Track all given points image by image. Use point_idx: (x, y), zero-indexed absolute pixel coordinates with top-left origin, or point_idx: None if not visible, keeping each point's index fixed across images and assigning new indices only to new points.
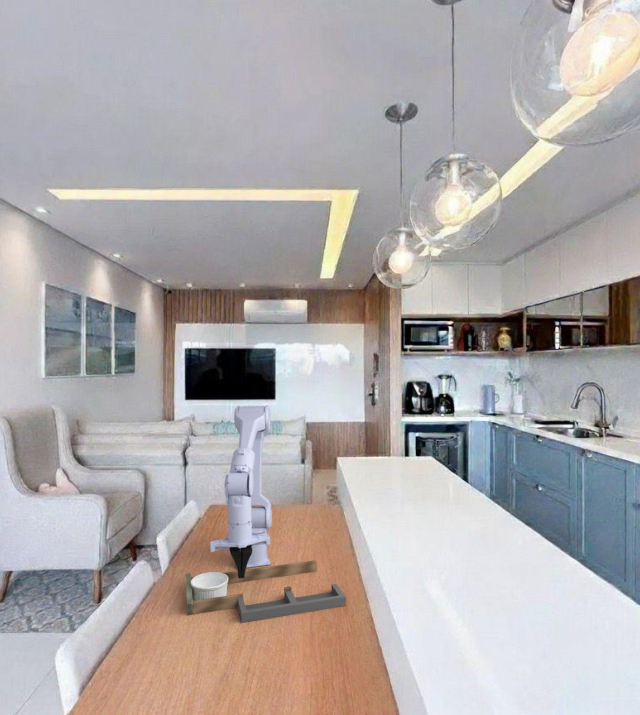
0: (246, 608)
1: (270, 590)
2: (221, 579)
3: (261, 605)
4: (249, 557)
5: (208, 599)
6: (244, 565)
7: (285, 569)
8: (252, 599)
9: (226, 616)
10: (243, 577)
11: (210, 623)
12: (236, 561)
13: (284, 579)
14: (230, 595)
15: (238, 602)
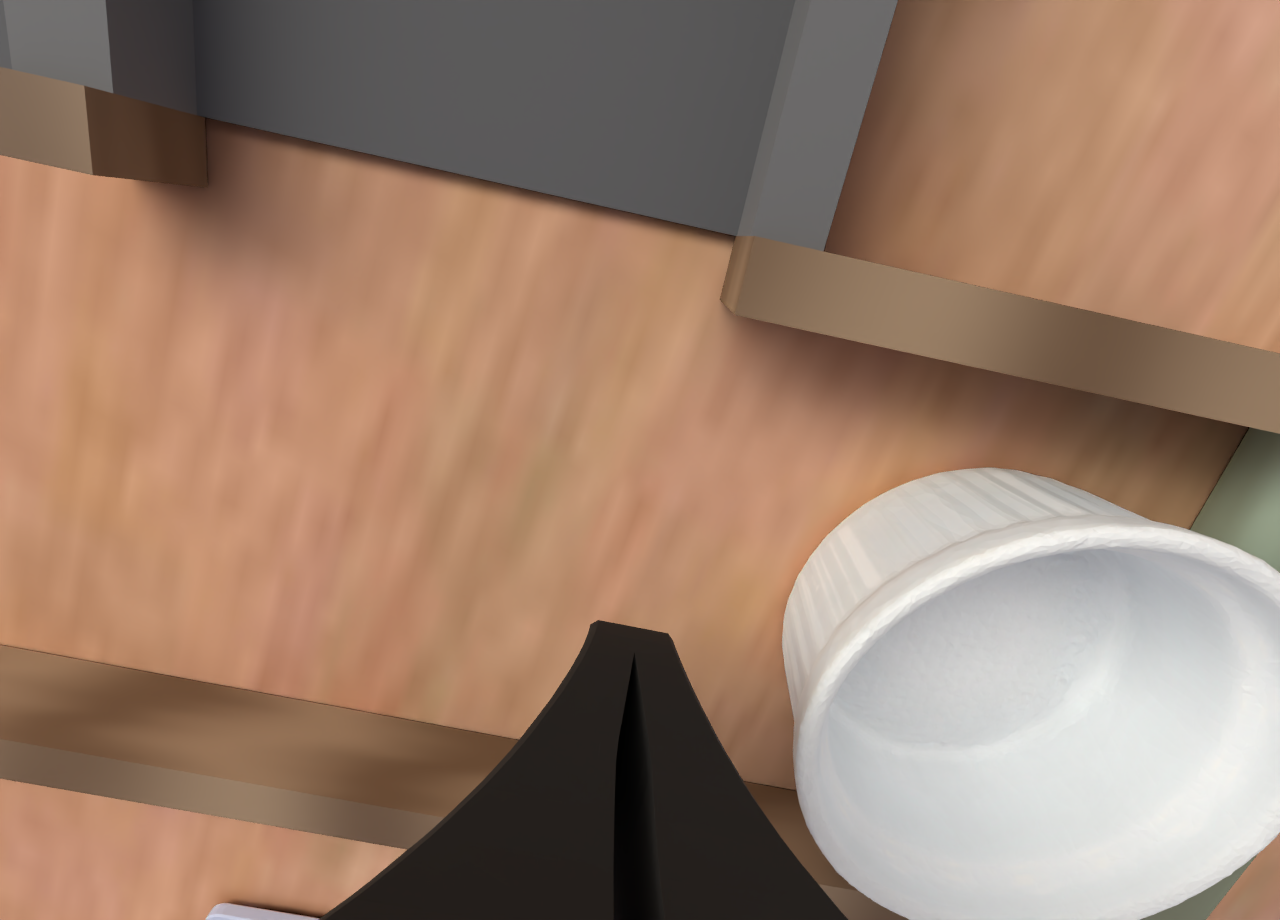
0: (728, 135)
1: (330, 451)
2: (836, 763)
3: (531, 112)
4: (401, 864)
5: (1209, 385)
6: (575, 741)
7: (51, 713)
8: (575, 354)
9: (1010, 93)
10: (606, 623)
11: (1264, 12)
12: (772, 871)
13: (135, 602)
14: (904, 339)
15: (850, 151)
